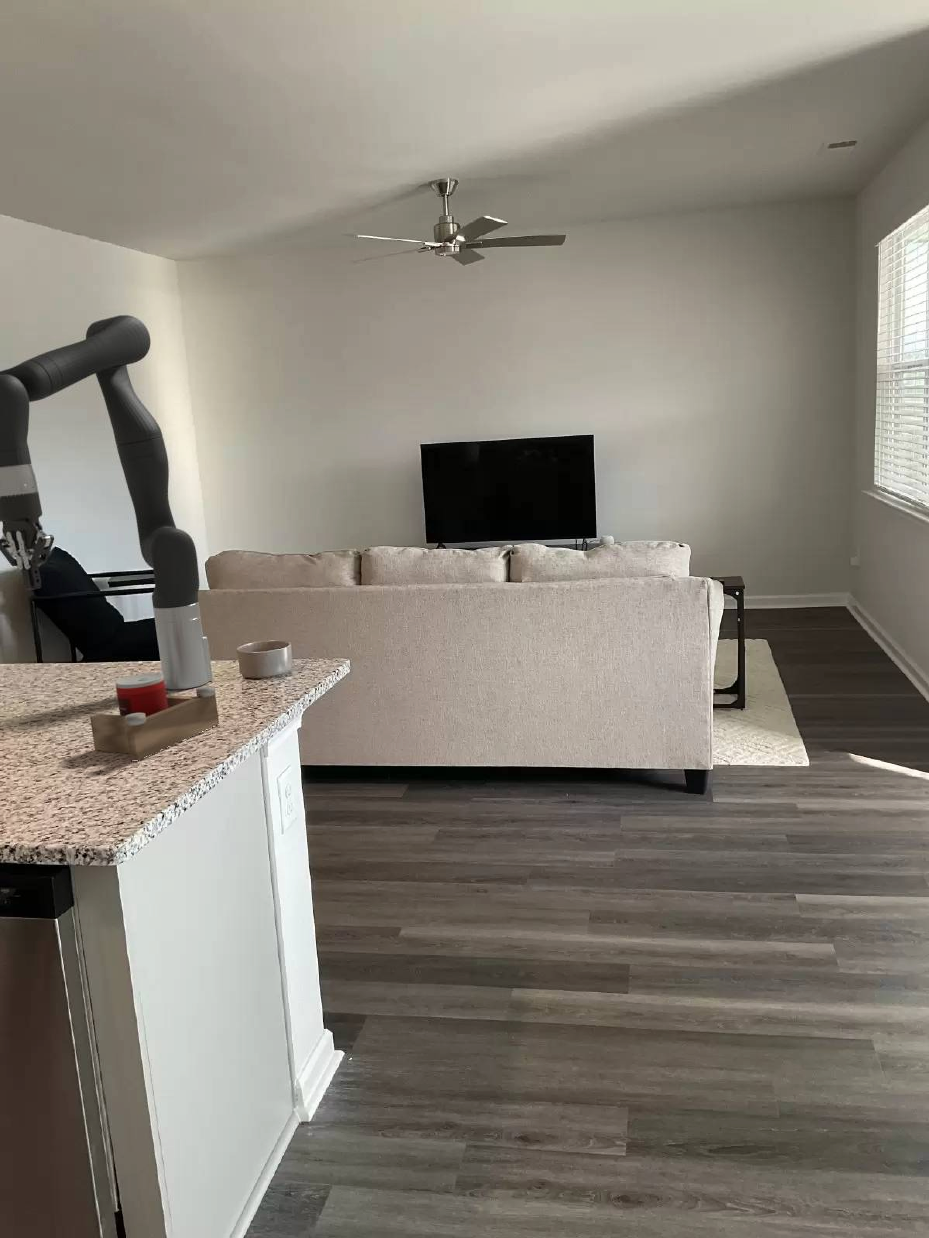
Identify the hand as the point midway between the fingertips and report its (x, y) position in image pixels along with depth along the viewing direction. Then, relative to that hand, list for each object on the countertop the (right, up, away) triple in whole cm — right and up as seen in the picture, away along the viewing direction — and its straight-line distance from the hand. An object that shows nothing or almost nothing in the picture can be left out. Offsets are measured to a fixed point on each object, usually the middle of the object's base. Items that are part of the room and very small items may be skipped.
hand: (33, 589), depth 178 cm
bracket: (+23, -26, -7) cm, 36 cm away
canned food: (+23, -26, -7) cm, 36 cm away
